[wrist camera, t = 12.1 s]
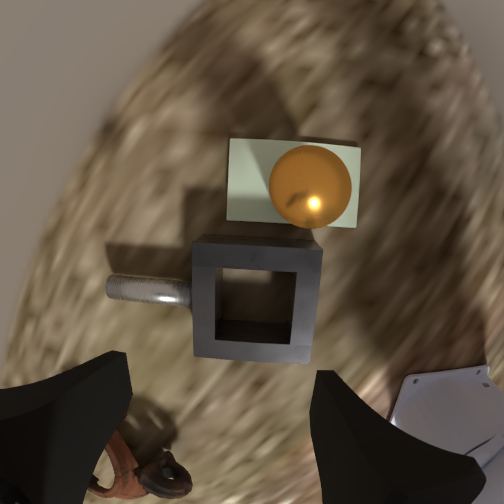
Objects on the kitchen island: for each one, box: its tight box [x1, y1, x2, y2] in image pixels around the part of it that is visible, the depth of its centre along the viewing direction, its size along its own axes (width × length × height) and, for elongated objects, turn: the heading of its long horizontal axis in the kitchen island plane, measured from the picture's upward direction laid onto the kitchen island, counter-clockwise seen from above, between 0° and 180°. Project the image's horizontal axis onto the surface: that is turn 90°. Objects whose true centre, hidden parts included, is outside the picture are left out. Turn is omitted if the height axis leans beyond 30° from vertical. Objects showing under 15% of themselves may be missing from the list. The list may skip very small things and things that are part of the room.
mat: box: [227, 138, 361, 228], centre depth 18 cm, size 8×5×1 cm, turn 87°
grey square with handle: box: [106, 234, 323, 364], centre depth 19 cm, size 13×7×3 cm, turn 87°
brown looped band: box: [87, 412, 193, 499], centre depth 22 cm, size 12×10×8 cm
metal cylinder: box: [268, 145, 352, 229], centre depth 15 cm, size 3×3×7 cm
